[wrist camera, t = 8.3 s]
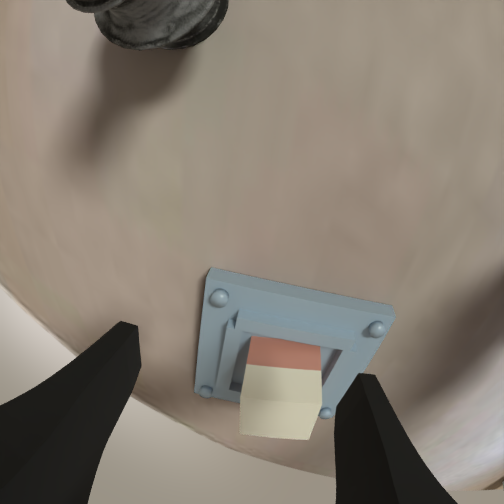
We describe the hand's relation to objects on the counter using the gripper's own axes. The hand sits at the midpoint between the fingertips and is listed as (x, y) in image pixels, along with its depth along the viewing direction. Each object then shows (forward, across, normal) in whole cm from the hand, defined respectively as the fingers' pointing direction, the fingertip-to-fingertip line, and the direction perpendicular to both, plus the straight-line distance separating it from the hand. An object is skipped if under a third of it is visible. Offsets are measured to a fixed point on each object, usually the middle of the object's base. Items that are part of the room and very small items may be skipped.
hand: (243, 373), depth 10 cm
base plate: (+10, -3, +9) cm, 14 cm away
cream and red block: (+9, -3, +9) cm, 13 cm away
